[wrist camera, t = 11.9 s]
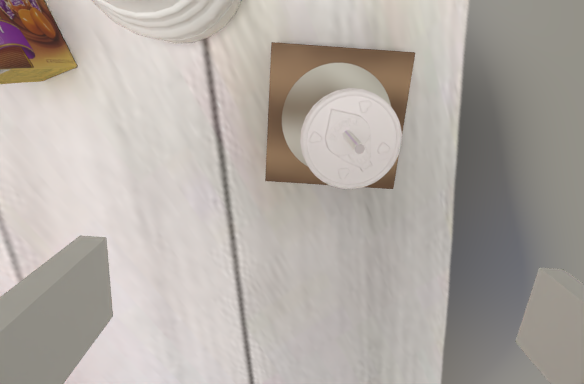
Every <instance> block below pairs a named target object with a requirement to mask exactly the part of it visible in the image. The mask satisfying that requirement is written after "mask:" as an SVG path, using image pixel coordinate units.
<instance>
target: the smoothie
mask: <svg viewBox="0 0 584 384" xmlns="http://www.w3.org/2000/svg"><path fill="white" fill-rule="evenodd" d="M401 143H402V131H401V126H400V122H399V119H398V117H397V115H396V113H395V111H394V110H393V108H392V107H391V106H390V105H389V104H388V103H387V102H386V101H385V100H384V99H382V98H381V97H379V96H378V95H376V94H375V93H372V92H370V91H367V90H364V89H357V88H347V89H341V90H336V91H334V92H332V93H330V94H328V95H326V96H324V97H323V98H321V99H320V100H319V101H318V102H317V103H316V104H315V105H313V107H312V108H311V110H310V111H309V113H308V114H307V115H306V117H305V120H304V123H303V126H302V128H301V138H300V144H301V150H302V155H303V157H304V159H305V161H306V163H307V165H308V167H309V169H310V170H311V171H312V173H313V174H314V175H315V176H316V177H317V178H319V179H320V180H321V181H323V182H324V183H326V184H328V185H330V186H333V187H336V188H341V189H358V188H362V187H365V186H368V185H371V184H373V183H374V182H376V181H378V180H379V179H381V178H382V177H383V176H384V175H385V174H386V173H387V172H388V171H389V170H390V169H391V168H392V166H393V165H394V163H395V161H396V159H397V157H398V155H399V152H400V148H401Z"/></svg>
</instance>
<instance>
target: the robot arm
mask: <svg viewBox="0 0 584 384" xmlns="http://www.w3.org/2000/svg"><path fill="white" fill-rule="evenodd" d="M112 317H113V311H112V299H111V287H110V275H109V263H108V251H107V239H106V237H92V236H79V237H78V238H76V239H75V240H74V241H73V242H71V243H70V244H69V245H67V246H66V247H65V248H63V249H62V250H61V251H60V252H58V253H57V254H56V255H54V256H53V257H52V258H51V259H49V260H48V261H47V262H45V263H44V264H43V265H41V266H40V267H39V268H38V269H36V270H35V271H34V272H32V273H31V274H30V275H28V276H27V277H26V278H25V279H23V280H22V281H21V282H19V283H18V284H17V285H15V286H14V287H13V288H12V289H10V290H9V291H8V292H6V293H5V294H4V295H2V296H1V297H0V384H63V383H64V382H65V381H66V379H67V378H68V377H69V375H70V374H71V373H72V371H73V370H74V368H75V367H76V366H77V364H78V363H79V362H80V360H81V359H82V358H83V356H84V355H85V353H86V352H87V351H88V349H89V348H90V347H91V345H92V344H93V343H94V341H95V340H96V338H97V337H98V336H99V334H100V333H101V332H102V330H103V329H104V328H105V326H106V325H107V323H108V322H109V321H110V319H111V318H112ZM516 343H517V344H518V346H519V347H520V348H521V349H522V350H523V351H524V352H525V354H526V355H527V356H528V357H529V358H530V360H531V361H532V362H533V363H534V365H535V366H536V367H537V368H538V369H539V370H540V372H541V373H542V374H543V375H544V376H545V377H546V379H547V380H548V381H549V382H550V384H584V284H583V283H582V282H580V281H579V280H578V279H576V278H575V277H574V276H572V275H571V274H569V273H568V272H567V271H565V270H563V269H551V268H539V270H538V273H537V276H536V279H535V282H534V285H533V288H532V292H531V294H530V298H529V301H528V304H527V307H526V310H525V313H524V316H523V319H522V322H521V326H520V329H519V332H518V335H517V338H516Z"/></svg>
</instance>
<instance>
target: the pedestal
mask: <svg viewBox="0 0 584 384" xmlns="http://www.w3.org/2000/svg"><path fill="white" fill-rule="evenodd" d="M414 57H415V53H414V52H400V51H386V50H371V49H357V48H343V47H329V46H315V45H301V44H287V43H273V42H272V45H271V68H270V90H269V112H268V135H267V157H266V179H265V181H275V182H291V183H307V184H322V185H328V184H326V183H324V182H323V181H321V180H320V179H319V178H317V177H316V176H315V175H314V174H313V173H312V171H311V170H310V169H309V167H308V165H307V163H306V161H305V159H304V157H303V155H302V150H301V144H300V138H301V128H302V126H303V123H304V120H305V117H306V115H307V114H308V113H309V111H310V110H311V108H312V107H313V105H315V104H316V103H317V102H318V101H319V100H320V99H321V98H323V97H324V96H326V95H328V94H330V93H332V92H334V91H336V90H341V89H347V88H357V89H364V90H367V91H370V92H372V93H375V94H376V95H378V96H379V97H381V98H382V99H384V100H385V101H386V102H387V103H388V104H389V105H390V106H391V107H392V108H393V110H394V111H395V113H396V115H397V117H398V119H399V122H400V126H401V131H403V125H404V119H405V113H406V106H407V100H408V94H409V88H410V82H411V75H412V69H413V63H414ZM398 156H399V155H398ZM397 162H398V157H397V159H396V161H395V163H394V165H393V166H392V168H391V169H390V170H389V171H388V172H387V173H386V174H385V175H384V176H383V177H382V178H381V179H379V180H378V181H376V182H374V183H373V184H371V185H368V186H365V187H370V188H386V189H393V187H394V181H395V174H396V168H397Z"/></svg>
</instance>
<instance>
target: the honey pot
mask: <svg viewBox="0 0 584 384" xmlns="http://www.w3.org/2000/svg"><path fill="white" fill-rule="evenodd" d="M92 1H93V2H94V4H95V5H96V6H97V7H98V8H100V9H101V10H102V11H103V12H104V13H105V14H106V15H107V16H108V17H109V18H111V19H112V20H113V21H114V22H115V23H117V24H119V25H120V26H122V27H124V28H126V29H128V30H129V31H131V32H133V33H135V34H138V35H142V36H146V37H150V38H154V39H158V40H163V41H167V42H171V43H193V42H196V41H199V40H202V39H205V38H208V37H210V36H212V35H213V34H215V33H216V32H218V31H219V30H220V29H222V28H223V27H225V25H226V24H227V23H228V22H229V20H230V19H231V18H232V17H233V16H234V14H235V13H236V12H237V9H238V7H239V5H240V3H241V1H242V0H92Z"/></svg>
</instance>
